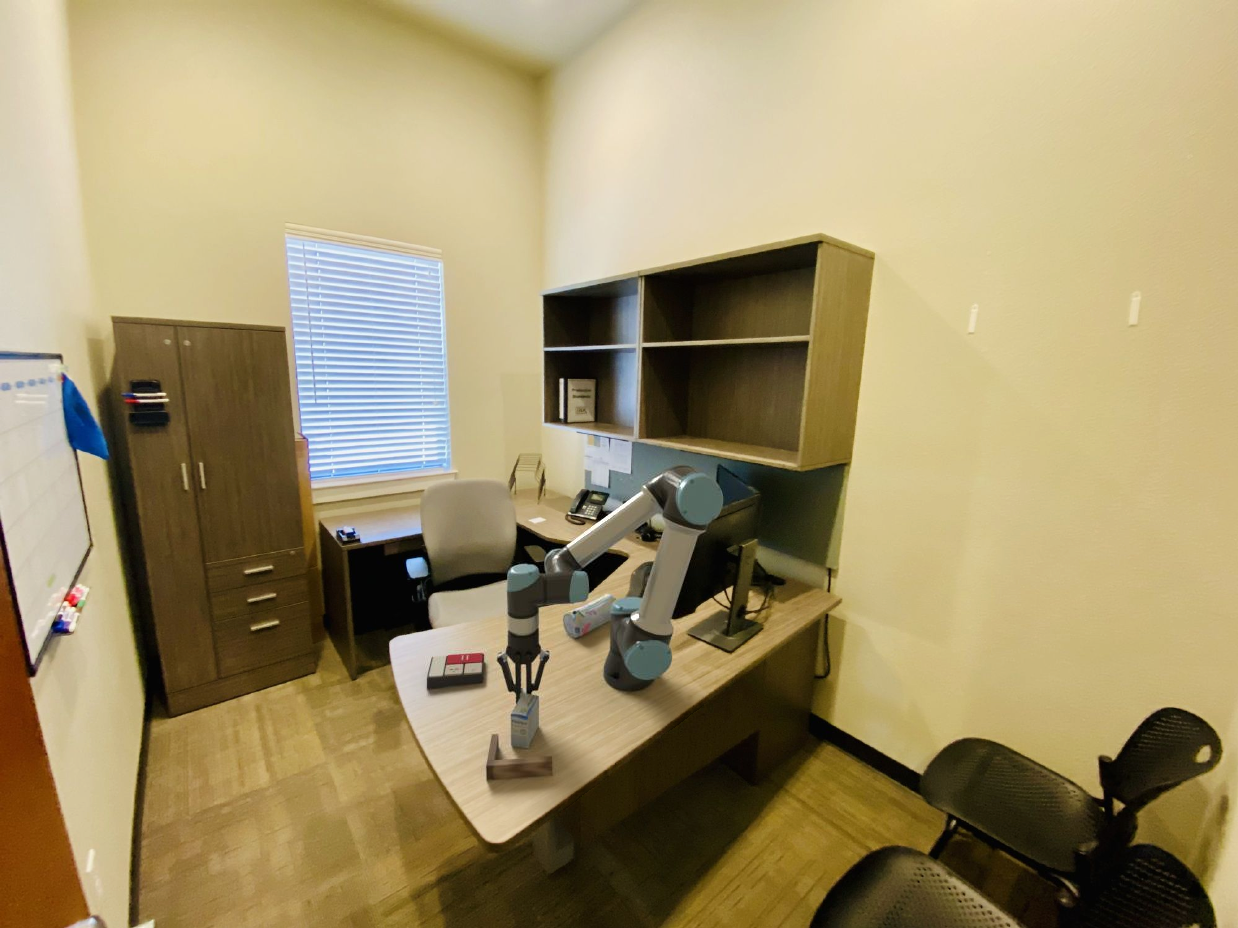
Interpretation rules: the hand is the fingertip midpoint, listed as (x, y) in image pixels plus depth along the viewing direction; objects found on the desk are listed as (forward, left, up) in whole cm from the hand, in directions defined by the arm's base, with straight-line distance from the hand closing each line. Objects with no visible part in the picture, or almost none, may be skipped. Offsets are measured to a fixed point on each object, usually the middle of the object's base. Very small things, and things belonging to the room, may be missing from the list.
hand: (523, 714), depth 124 cm
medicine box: (-1, +6, -2) cm, 6 cm away
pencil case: (-20, -45, -2) cm, 50 cm away
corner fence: (0, +14, -2) cm, 14 cm away
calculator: (+20, -21, -2) cm, 29 cm away
